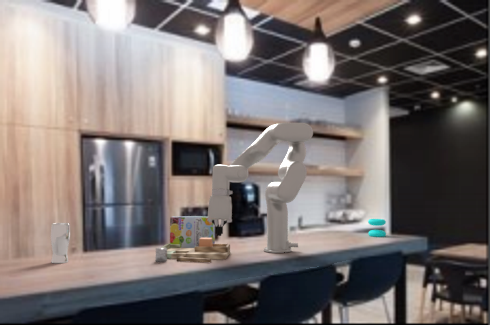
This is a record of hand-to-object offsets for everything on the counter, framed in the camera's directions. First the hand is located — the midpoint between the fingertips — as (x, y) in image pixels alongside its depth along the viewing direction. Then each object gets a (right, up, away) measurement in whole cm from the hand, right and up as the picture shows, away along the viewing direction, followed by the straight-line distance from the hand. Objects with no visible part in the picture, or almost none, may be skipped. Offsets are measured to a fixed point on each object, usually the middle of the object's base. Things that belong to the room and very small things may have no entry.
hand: (219, 235), depth 181 cm
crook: (-9, -8, -14) cm, 18 cm away
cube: (-6, -6, 0) cm, 9 cm away
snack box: (-14, -10, +21) cm, 27 cm away
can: (-22, -8, -16) cm, 28 cm away
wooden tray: (-10, -8, -2) cm, 13 cm away
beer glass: (-61, -8, -18) cm, 64 cm away
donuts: (+89, -12, +66) cm, 112 cm away
